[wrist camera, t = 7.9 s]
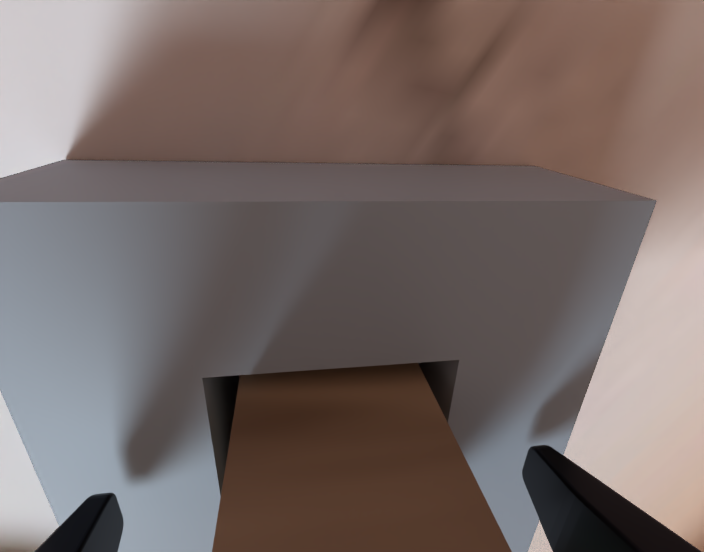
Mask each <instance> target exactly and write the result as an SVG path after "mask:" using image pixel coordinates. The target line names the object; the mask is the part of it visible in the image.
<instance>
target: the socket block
mask: <svg viewBox="0 0 704 552" xmlns="http://www.w3.org/2000/svg"><path fill="white" fill-rule="evenodd" d="M655 204H656V200H653V199H649V198H646V197H642V196H639V195H635V194H632V193H628V192H625V191H621V190H618V189H614V188H610V187H607V186H603V185H600V184H596V183H593V182H589V181H586V180H582V179H579V178H575V177H572V176H568V175H565V174H561V173H558V172H554V171H550V170H547V169H543V168H540V167H536V166H497V165H421V164H344V163H268V162H191V161H115V160H61V161H58V162H54V163H51V164H48V165H44V166H41V167H37V168H34V169H31V170H27V171H24V172H20V173H17V174H13V175H10V176H7V177H3V178H0V391H1V393H2V396H3V398H4V400H5V402H6V405H7V407H8V409H9V412H10V414H11V416H12V419H13V421H14V423H15V425H16V428H17V430H18V432H19V435H20V437H21V439H22V441H23V444H24V446H25V448H26V451H27V453H28V455H29V458H30V460H31V462H32V464H33V467H34V469H35V471H36V474H37V476H38V478H39V481H40V483H41V485H42V487H43V490H44V492H45V494H46V497H47V499H48V501H49V503H50V506H51V508H52V510H53V513H54V515H55V517H56V520H57V522H58V524H59V526H60V525H61V524H62V523H63V522H64V521H65V520H66V519H67V518H68V517H69V516H70V515H71V514H72V513H73V512H74V511H75V510H76V509H77V508H78V507H79V506H80V505H81V504H82V503H83V502H84V501H85V500H86V499H87V498H88V497H90V496H91V495H94V494H101V493H114V494H115V495H116V497H117V500H118V503H119V506H120V509H121V513H122V516H123V521H124V525H123V532H122V536H121V540H120V544H119V549H118V552H212V548H213V542H214V536H215V530H216V523H217V517H218V511H219V504H220V498H221V492H222V486H223V479H224V473H225V467H226V461H227V454H228V448H229V442H230V435H231V429H232V423H233V417H234V410H235V404H236V398H237V391H238V385H239V375H250V374H264V373H278V372H293V371H307V370H321V369H335V368H350V367H364V366H378V365H393V364H407V363H418V364H419V366H420V368H421V370H422V372H423V374H424V376H425V378H426V380H427V382H428V384H429V386H430V388H431V390H432V392H433V394H434V396H435V398H436V400H437V402H438V404H439V406H440V408H441V410H442V412H443V414H444V416H445V418H446V420H447V422H448V424H449V426H450V428H451V430H452V432H453V434H454V437H455V439H456V441H457V443H458V445H459V447H460V449H461V451H462V453H463V455H464V457H465V459H466V461H467V463H468V465H469V467H470V469H471V471H472V473H473V475H474V477H475V479H476V481H477V483H478V485H479V487H480V489H481V491H482V493H483V495H484V497H485V499H486V501H487V503H488V505H489V507H490V509H491V511H492V513H493V515H494V517H495V519H496V521H497V523H498V525H499V527H500V529H501V531H502V533H503V535H504V537H505V539H506V541H507V543H508V545H509V547H510V549H511V551H512V552H528V549H529V546H530V544H531V541H532V538H533V536H534V533H535V530H536V527H537V525H538V522H539V517H538V515H537V512H536V510H535V508H534V505H533V503H532V500H531V498H530V495H529V493H528V491H527V488H526V486H525V483H524V481H523V477H522V469H523V465H524V462H525V459H526V456H527V452H528V450H529V448H530V447H531V446H537V445H548V446H550V447H552V448H553V449H555V450H556V451H558V452H559V453H561V454H562V455H563V454H564V451H565V449H566V446H567V443H568V440H569V438H570V435H571V432H572V430H573V427H574V424H575V421H576V419H577V416H578V413H579V411H580V408H581V405H582V402H583V400H584V397H585V394H586V392H587V389H588V386H589V383H590V381H591V378H592V375H593V373H594V370H595V367H596V364H597V362H598V359H599V356H600V353H601V351H602V348H603V345H604V343H605V340H606V337H607V334H608V332H609V329H610V326H611V324H612V321H613V318H614V315H615V313H616V310H617V307H618V305H619V302H620V299H621V296H622V294H623V291H624V288H625V286H626V283H627V280H628V277H629V275H630V272H631V269H632V267H633V264H634V261H635V258H636V256H637V253H638V250H639V247H640V245H641V242H642V239H643V237H644V234H645V231H646V228H647V226H648V223H649V220H650V218H651V215H652V212H653V209H654V207H655Z"/></svg>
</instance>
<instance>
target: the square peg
mask: <svg viewBox="0 0 704 552" xmlns="http://www.w3.org/2000/svg"><path fill="white" fill-rule="evenodd" d="M212 552H512V551H511V549H510V547H509V545H508V543H507V541H506V539H505V537H504V535H503V533H502V531H501V529H500V527H499V525H498V523H497V521H496V519H495V517H494V515H493V513H492V511H491V509H490V507H489V505H488V503H487V501H486V499H485V497H484V495H483V493H482V491H481V489H480V487H479V485H478V483H477V481H476V479H475V477H474V475H473V473H472V471H471V469H470V467H469V465H468V463H467V461H466V459H465V457H464V455H463V453H462V451H461V449H460V447H459V445H458V443H457V441H456V439H455V437H454V434H453V432H452V430H451V428H450V426H449V424H448V422H447V420H446V418H445V416H444V414H443V412H442V410H441V408H440V406H439V404H438V402H437V400H436V398H435V396H434V394H433V392H432V390H431V388H430V386H429V384H428V382H427V380H426V378H425V376H424V374H423V372H422V370H421V368H420V366H419V364H418V363H407V364H393V365H378V366H364V367H350V368H335V369H321V370H307V371H293V372H278V373H264V374H250V375H240V379H239V385H238V391H237V398H236V404H235V410H234V417H233V423H232V429H231V435H230V442H229V448H228V454H227V461H226V467H225V473H224V479H223V486H222V492H221V498H220V504H219V511H218V517H217V523H216V530H215V536H214V542H213V548H212Z"/></svg>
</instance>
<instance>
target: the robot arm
mask: <svg viewBox="0 0 704 552" xmlns="http://www.w3.org/2000/svg"><path fill="white" fill-rule="evenodd" d="M522 477H523V481H524V483H525V486H526V488H527V491H528V493H529V495H530V498H531V500H532V503H533V505H534V508H535V510H536V512H537V515H538V517H539V520H540V522H541V524H542V527H543V529H544V532H545V534H546V537H547V539H548V541H549V543H550V546H551V548H552V550H553V552H701V551H700V550H699V549H697V548H696V547H694V546H693V545H691V544H690V543H689V542H687V541H686V540H684V539H683V538H681V537H680V536H678V535H677V534H676V533H674V532H673V531H671V530H670V529H668V528H667V527H666V526H664V525H663V524H661V523H660V522H658V521H657V520H655V519H654V518H653V517H651V516H650V515H648V514H647V513H645V512H644V511H643V510H641V509H640V508H638V507H637V506H635V505H634V504H632V503H631V502H630V501H628V500H627V499H625V498H624V497H622V496H621V495H620V494H618V493H617V492H615V491H614V490H612V489H611V488H609V487H608V486H607V485H605V484H604V483H602V482H601V481H599V480H598V479H597V478H595V477H594V476H592V475H591V474H589V473H588V472H586V471H585V470H584V469H582V468H581V467H579V466H578V465H576V464H575V463H574V462H572V461H571V460H569V459H568V458H566V457H565V456H563V455H562V454H561V453H559V452H558V451H556V450H555V449H553V448H552V447H550V446H548V445H537V446H531V447H530V448H529V450H528V452H527V456H526V459H525V462H524V465H523V469H522ZM123 525H124V521H123V516H122V513H121V509H120V506H119V503H118V500H117V497H116V495H115V494H114V493H101V494H94V495H91V496H90V497H88V498H87V499H86V500H85V501H84V502H83V503H82V504H81V505H80V506H79V507H78V508H77V509H76V510H75V511H74V512H73V513H72V514H71V515H70V516H69V517H68V518H67V519H66V520H65V521H64V522H63V523H62V524H61V525H60V526H59V527H58V528H57V529H56V530H55V531H54V532H53V533H52V534H51V535H50V536H49V537H48V539H47V540H46V541H45V542H44V543H43V544H42V545H41V546H40V547H39V548H38V549H37V550H36V551H35V552H118V549H119V544H120V540H121V536H122V532H123Z"/></svg>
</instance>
